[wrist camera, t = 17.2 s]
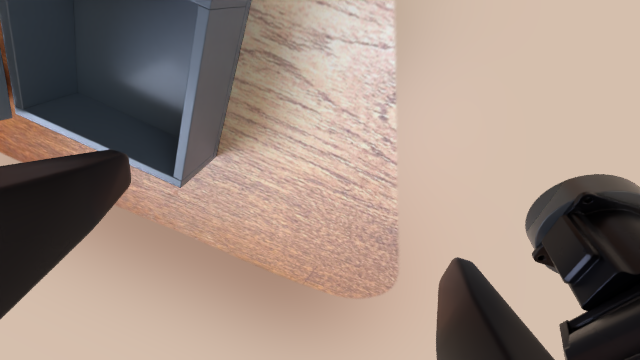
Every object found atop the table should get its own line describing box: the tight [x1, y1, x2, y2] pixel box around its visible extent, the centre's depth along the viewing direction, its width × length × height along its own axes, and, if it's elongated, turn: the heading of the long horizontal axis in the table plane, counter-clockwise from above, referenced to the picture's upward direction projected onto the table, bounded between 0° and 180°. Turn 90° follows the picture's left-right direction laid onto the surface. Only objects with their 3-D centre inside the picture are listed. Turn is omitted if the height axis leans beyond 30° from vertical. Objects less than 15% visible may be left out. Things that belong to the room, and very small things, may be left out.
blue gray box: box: [0, 0, 251, 188], centre depth 19 cm, size 11×11×5 cm
